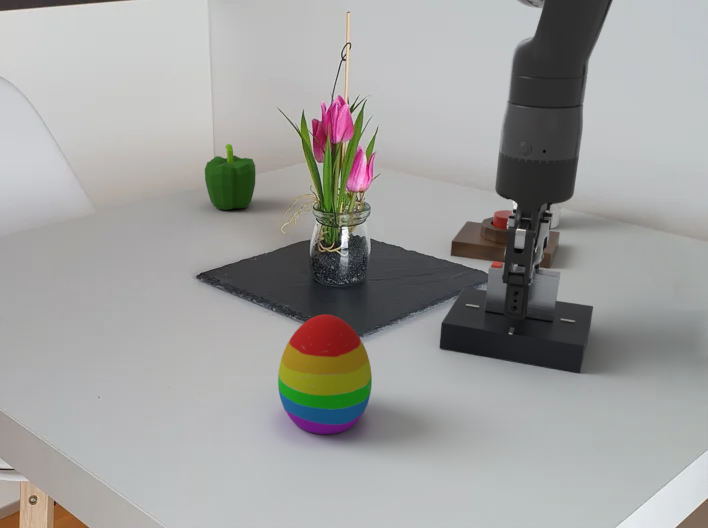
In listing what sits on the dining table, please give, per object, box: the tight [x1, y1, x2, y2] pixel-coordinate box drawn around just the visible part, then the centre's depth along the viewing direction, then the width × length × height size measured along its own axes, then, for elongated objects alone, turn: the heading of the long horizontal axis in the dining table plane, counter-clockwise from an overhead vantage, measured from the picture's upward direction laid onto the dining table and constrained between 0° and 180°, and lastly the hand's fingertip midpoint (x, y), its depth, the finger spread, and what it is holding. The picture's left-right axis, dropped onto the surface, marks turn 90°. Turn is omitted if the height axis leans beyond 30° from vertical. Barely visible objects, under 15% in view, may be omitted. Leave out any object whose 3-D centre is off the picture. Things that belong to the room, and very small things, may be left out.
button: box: [493, 209, 513, 229], centre depth 115 cm, size 4×4×2 cm
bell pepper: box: [204, 143, 256, 211], centre depth 136 cm, size 8×8×10 cm
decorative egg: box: [277, 313, 373, 435], centre depth 73 cm, size 8×8×10 cm
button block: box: [450, 216, 561, 270], centre depth 116 cm, size 13×10×4 cm
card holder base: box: [439, 286, 594, 374], centre depth 89 cm, size 14×11×3 cm
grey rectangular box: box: [485, 261, 561, 321], centre depth 88 cm, size 7×2×5 cm, turn 65°
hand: (520, 305), depth 88 cm, fingers open, 6 cm apart
